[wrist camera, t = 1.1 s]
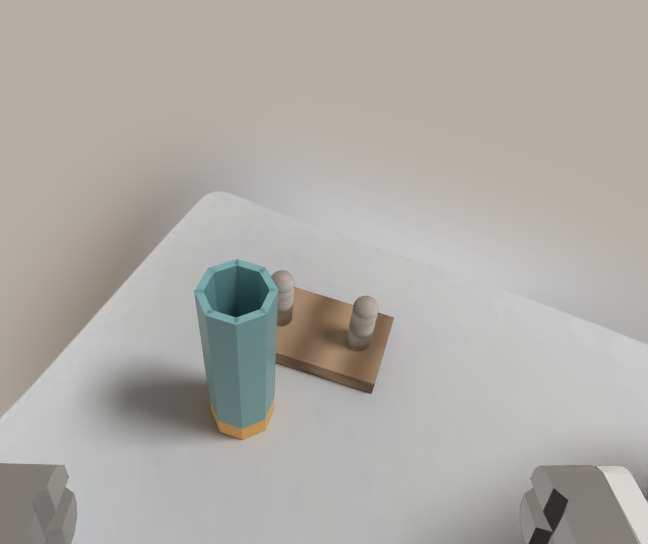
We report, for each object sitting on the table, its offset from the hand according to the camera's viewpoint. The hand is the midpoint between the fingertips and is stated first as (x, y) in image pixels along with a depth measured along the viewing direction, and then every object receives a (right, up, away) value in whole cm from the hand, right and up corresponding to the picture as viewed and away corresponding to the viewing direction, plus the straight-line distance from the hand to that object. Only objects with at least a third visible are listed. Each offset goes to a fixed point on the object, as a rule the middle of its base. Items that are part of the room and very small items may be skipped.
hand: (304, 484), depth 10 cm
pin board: (0, -4, +55) cm, 55 cm away
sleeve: (-8, -10, +49) cm, 51 cm away
